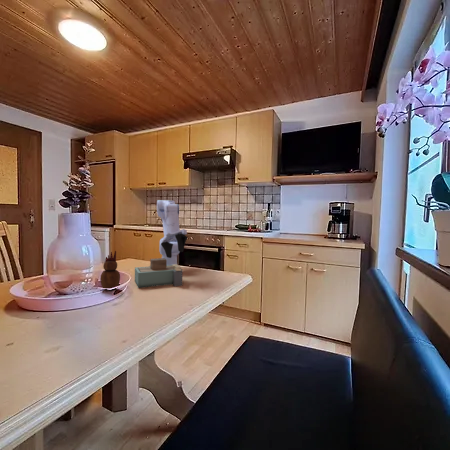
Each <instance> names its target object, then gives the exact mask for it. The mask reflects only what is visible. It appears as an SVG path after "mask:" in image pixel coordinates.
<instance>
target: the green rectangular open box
mask: <svg viewBox="0 0 450 450" xmlns="http://www.w3.org/2000/svg"><path fill="white" fill-rule="evenodd" d="M167 266H172V265H167ZM144 267H145V266H140V267H134V282H135V283H134V284H135V285H136V287H137V288H138V289H141V288H152V287H160V286H161V287H163V286H168V285H169V286H171V285H173V287H181V286H183V268H181V271H176V270H163V271H150V272H140V271H139V269H138V268H144Z"/></svg>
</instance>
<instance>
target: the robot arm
mask: <svg viewBox="0 0 450 450" xmlns="http://www.w3.org/2000/svg"><path fill="white" fill-rule="evenodd" d="M156 214H157V216H158V217H159V218H160V219H161V223H162V230H163V237H162V238H160V240H159V243H158V244H159V247H158V248H159V254H160V255H161V258H165V259H166V260H167V265H174V264H178V254H180V253H183V252H184V250H185V245H186V242H187V239H188V235H187V234H188V233H187V232H188V230H187V229H184V228H182V229H180V217H179V216H180V205H179V204H178V203H177V204H176V201H175V200H167V199H166V200H165V199H161V200H160V199H158V200H156Z"/></svg>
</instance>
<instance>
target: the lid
mask: <svg viewBox="0 0 450 450" xmlns="http://www.w3.org/2000/svg"><path fill="white" fill-rule="evenodd" d="M149 261H150V265H149V266H143V267H144V268H138V269H139V271H140V272H150V271H163V270H174V269H173V265H172V266H167V260H166V259H165V258H162V257H161V258H150V260H149Z"/></svg>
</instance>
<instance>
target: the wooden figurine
mask: <svg viewBox="0 0 450 450" xmlns="http://www.w3.org/2000/svg"><path fill="white" fill-rule="evenodd" d="M117 268H118V263H117V251H116V250H115V251H114V254H113V253H112V251H111V252H110V255H109V254H108V255H107V256H106V257H105V259H104V263H103V271H102V272H101V274H100V279H99V280H100V285H101V287H102V289H103V288H112V287H115V286H118V287H119V284H120V280H121V273H120V272H119V270H117Z"/></svg>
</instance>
